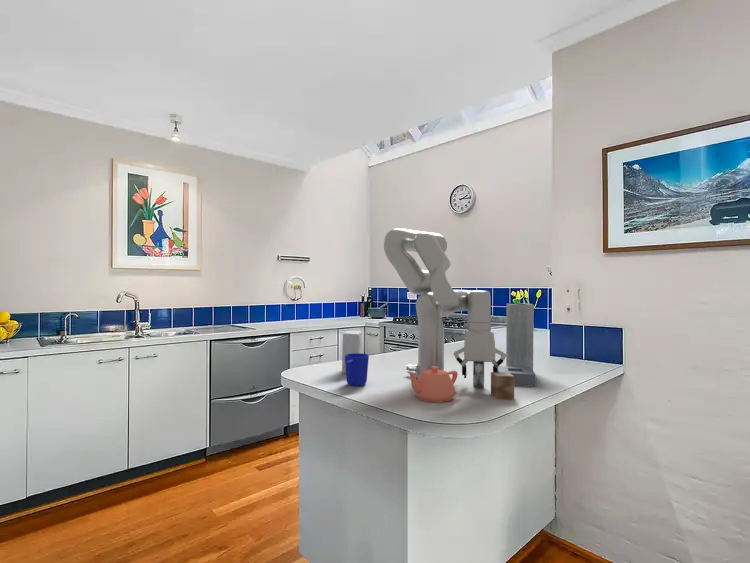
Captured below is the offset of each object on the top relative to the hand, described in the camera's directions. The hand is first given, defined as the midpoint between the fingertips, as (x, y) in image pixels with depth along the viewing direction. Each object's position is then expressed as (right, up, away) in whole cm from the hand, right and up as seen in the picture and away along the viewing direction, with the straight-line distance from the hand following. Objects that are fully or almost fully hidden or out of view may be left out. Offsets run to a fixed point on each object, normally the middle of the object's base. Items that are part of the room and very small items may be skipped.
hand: (479, 377), depth 139 cm
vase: (+21, -3, +23) cm, 32 cm away
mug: (-42, -3, +1) cm, 42 cm away
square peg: (+4, -3, -11) cm, 12 cm away
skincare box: (-44, -3, +23) cm, 50 cm away
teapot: (-18, -3, -13) cm, 22 cm away
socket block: (+15, -3, +9) cm, 18 cm away
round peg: (0, -3, 0) cm, 3 cm away
